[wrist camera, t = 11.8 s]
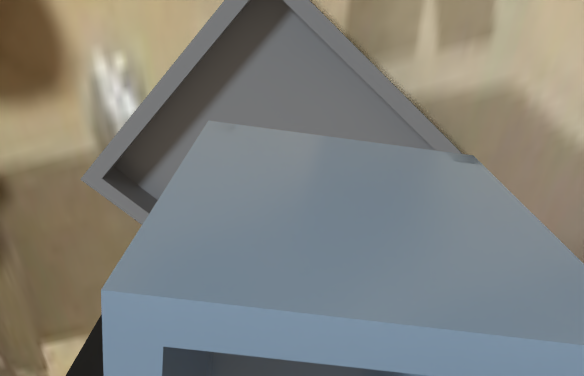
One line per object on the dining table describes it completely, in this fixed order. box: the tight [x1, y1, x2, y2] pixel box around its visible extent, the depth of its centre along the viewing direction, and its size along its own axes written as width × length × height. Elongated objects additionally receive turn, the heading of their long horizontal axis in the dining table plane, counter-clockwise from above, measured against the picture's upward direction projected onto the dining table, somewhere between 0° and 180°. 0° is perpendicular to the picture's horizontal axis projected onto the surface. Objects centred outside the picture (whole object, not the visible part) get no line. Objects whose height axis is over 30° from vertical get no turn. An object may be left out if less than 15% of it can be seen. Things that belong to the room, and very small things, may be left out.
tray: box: [81, 0, 462, 225], centre depth 32 cm, size 19×18×3 cm
